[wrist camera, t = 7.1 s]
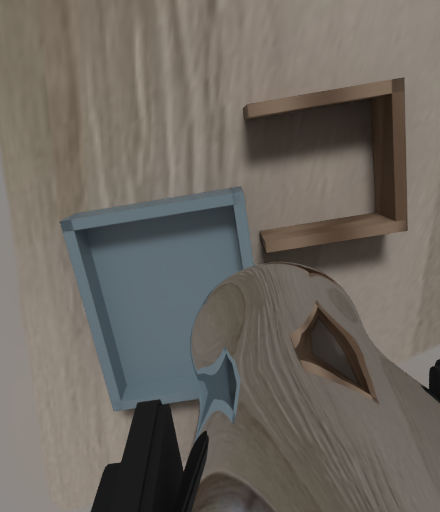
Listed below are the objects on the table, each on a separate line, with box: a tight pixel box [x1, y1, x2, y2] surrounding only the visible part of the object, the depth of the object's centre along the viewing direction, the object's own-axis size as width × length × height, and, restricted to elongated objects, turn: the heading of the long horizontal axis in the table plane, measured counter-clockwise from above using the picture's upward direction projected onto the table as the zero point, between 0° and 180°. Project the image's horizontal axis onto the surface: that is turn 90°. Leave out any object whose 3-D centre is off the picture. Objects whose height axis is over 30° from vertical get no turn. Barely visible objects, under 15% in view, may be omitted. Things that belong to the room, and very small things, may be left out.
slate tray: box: [60, 187, 254, 411], centre depth 31 cm, size 13×16×3 cm
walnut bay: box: [243, 78, 408, 253], centre depth 28 cm, size 10×10×4 cm
